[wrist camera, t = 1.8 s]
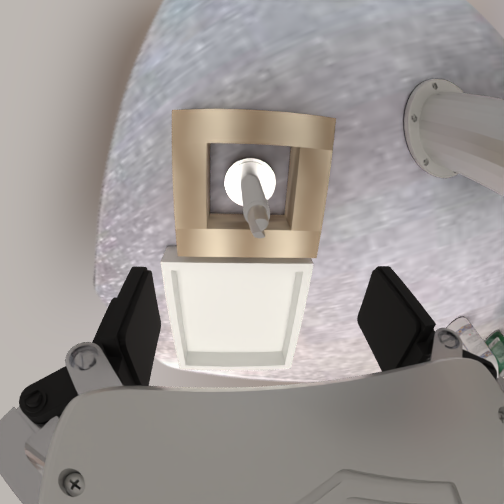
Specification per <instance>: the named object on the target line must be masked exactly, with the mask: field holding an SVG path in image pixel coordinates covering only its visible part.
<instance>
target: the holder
mask: <svg viewBox="0 0 504 504" xmlns="http://www.w3.org/2000/svg"><path fill="white" fill-rule="evenodd" d="M335 123H336V118H330V117H323V116H316V115H308V114H299V113H290V112H278V111H265V110H245V109H185V110H172V172H173V197H174V215H175V230H176V243H177V254H178V256H185V257H265V258H316V257H317V252H318V246H319V240H320V235H321V229H322V223H323V216H324V210H325V204H326V197H327V190H328V183H329V175H330V168H331V160H332V151H333V142H334V133H335ZM210 143H236V144H262V145H279V146H291V150H290V161H289V172H288V183H287V194H286V204H285V214H284V215H270V219H269V224H268V226H267V228H266V229H264V232H265V237H264V238H255V237H254V236H253V234H252V232H251V230H250V227H249V223H248V222H247V221H246V219H245V217H244V215H243V214H216V213H210Z"/></svg>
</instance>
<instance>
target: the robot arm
mask: <svg viewBox="0 0 504 504" xmlns="http://www.w3.org/2000/svg"><path fill="white" fill-rule="evenodd" d="M404 130H405V137H406V141H407V144H408V148H409V150H410V152H411V155H412V157H413V158H414V160H415V161H416V163H417V164H418V165H419V166H420V167H421V168H422V169H423V170H424V171H426V172H427V173H429V174H431V175H433V176H435V177H439V178H450V177H453V176H456V175H457V174H461V175H463V176H465V177H467V178H469V179H471V180H473V181H475V182H477V183H479V184H481V185H483V186H485V187H487V188H489V189H491V190H492V191H494V192H496V193H498V194H500V195H501V196H503V197H504V99H500V98H495V97H489V96H482V95H475V94H466V93H464V92H463V91H462V90H461V89H460V88H459V87H458V86H456V85H455V84H453V83H452V82H450V81H447V80H444V79H430V80H427V81H424V82H422V83H421V84H420V85H418V86H417V87H416V88H415V90H414V91H413V92H412V94H411V96H410V98H409V99H408V103H407V106H406V110H405V117H404ZM357 321H358V324H359V326H360V328H361V330H362V332H363V334H364V336H365V338H366V340H367V342H368V344H369V346H370V348H371V350H372V352H373V354H374V356H375V358H376V360H377V362H378V364H379V366H380V368H381V370H382V372H378V373H372V374H367V375H361V376H355V377H349V378H343V379H336V380H328V381H321V382H312V383H303V384H293V385H280V386H264V387H241V388H190V387H188V388H187V387H163V386H149V381H150V376H151V370H152V366H153V361H154V356H155V351H156V347H157V342H158V338H159V333H160V329H161V320H160V315H159V310H158V305H157V300H156V294H155V288H154V283H153V277H152V272H151V271H149V270H147V268H146V267H132V268H131V270H130V272H129V274H128V276H127V278H126V280H125V282H124V284H123V286H122V288H121V290H120V292H119V295H118V297H117V298H113V299H112V301H111V302H110V304H109V307H108V309H107V311H106V313H105V315H104V317H103V319H102V322H101V324H100V326H99V328H98V331H97V333H96V335H95V338H94V340H93V342H92V343H91V342H83V343H80V344H77V345H76V346H74V347H72V348H71V349H70V350H69V351H68V353H67V355H66V359H65V362H66V366H65V367H63V368H61V369H60V370H58V371H56V372H54V373H52V374H50V375H48V376H47V377H45V378H43V379H41V380H39V381H37V382H35V383H33V384H31V385H30V386H28V387H26V388H25V389H24V390H23V392H22V393H21V396H20V400H19V404H20V406H19V407H18V408H17V409H16V408H15V407H13V408H12V409H11V410H10V411H9V412H8V413H7V414H6V415H5V416H4V417H3V418H2V419H1V420H0V474H1V476H2V477H3V478H4V480H5V481H6V483H7V484H8V485H9V487H10V488H11V489H12V491H13V492H14V493H15V495H16V496H17V497H18V498H19V500H20V501H21V502H22V503H23V504H504V379H503V378H502V377H501V376H499V377H498V378H497V371H496V368H495V367H494V365H493V364H492V363H491V362H490V361H488V360H486V359H484V358H481V357H479V356H477V355H475V354H472V353H470V352H468V351H466V350H464V349H462V347H463V344H462V340H461V338H460V337H459V335H458V334H457V333H455V332H454V331H452V330H450V329H448V328H439V329H437V330H436V332H435V331H434V327H435V325H436V324H435V322H434V321H433V320H432V318H431V317H430V316H429V314H428V313H427V312H426V310H425V309H424V308H423V306H422V305H421V304H420V303H419V301H418V300H417V299H416V298H415V296H414V295H413V294H412V293H411V291H410V290H409V289H408V288H407V286H406V285H405V284H404V283H403V282H402V280H401V279H400V278H399V277H398V276H397V274H396V273H395V272H394V271H393V270H392V269H391V267H389V266H378V267H377V268H376V269H375V270H373V272H372V274H371V278H370V281H369V284H368V287H367V290H366V293H365V296H364V299H363V302H362V305H361V308H360V311H359V314H358V318H357Z"/></svg>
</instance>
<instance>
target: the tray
mask: <svg viewBox="0 0 504 504" xmlns="http://www.w3.org/2000/svg"><path fill="white" fill-rule="evenodd" d="M161 269H162V276H163V283H164V289H165V296H166V302H167V308H168V313H169V319H170V324H171V330H172V335H173V340H174V345H175V350H176V354H177V359H178V364H179V368H180V369H187V370H216V371H250V370H279V369H291V365H292V361H293V357H294V353H295V349H296V345H297V340H298V336H299V332H300V327H301V323H302V318H303V314H304V309H305V305H306V300H307V295H308V290H309V285H310V280H311V275H312V270H313V261H312V259H311V258H265V257H185V256H178V254H177V246H167V248H166V250H165V253H164V255H163V257H162V260H161Z"/></svg>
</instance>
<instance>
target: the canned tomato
mask: <svg viewBox="0 0 504 504" xmlns="http://www.w3.org/2000/svg"><path fill="white" fill-rule="evenodd" d="M484 342H485V343H486V345H487V346H488V347H489V349H490V350H491V352H492V353H493V355H494V356H495V358H496V360H497V364H498V377H499V376H501V377H504V336H503V335H502V334H501V333H500V331H499V330H496V331H495V332H493V333H492V334H491V335H490V336H489V337H488V338H487V339H486V340H485V341H484Z"/></svg>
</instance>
